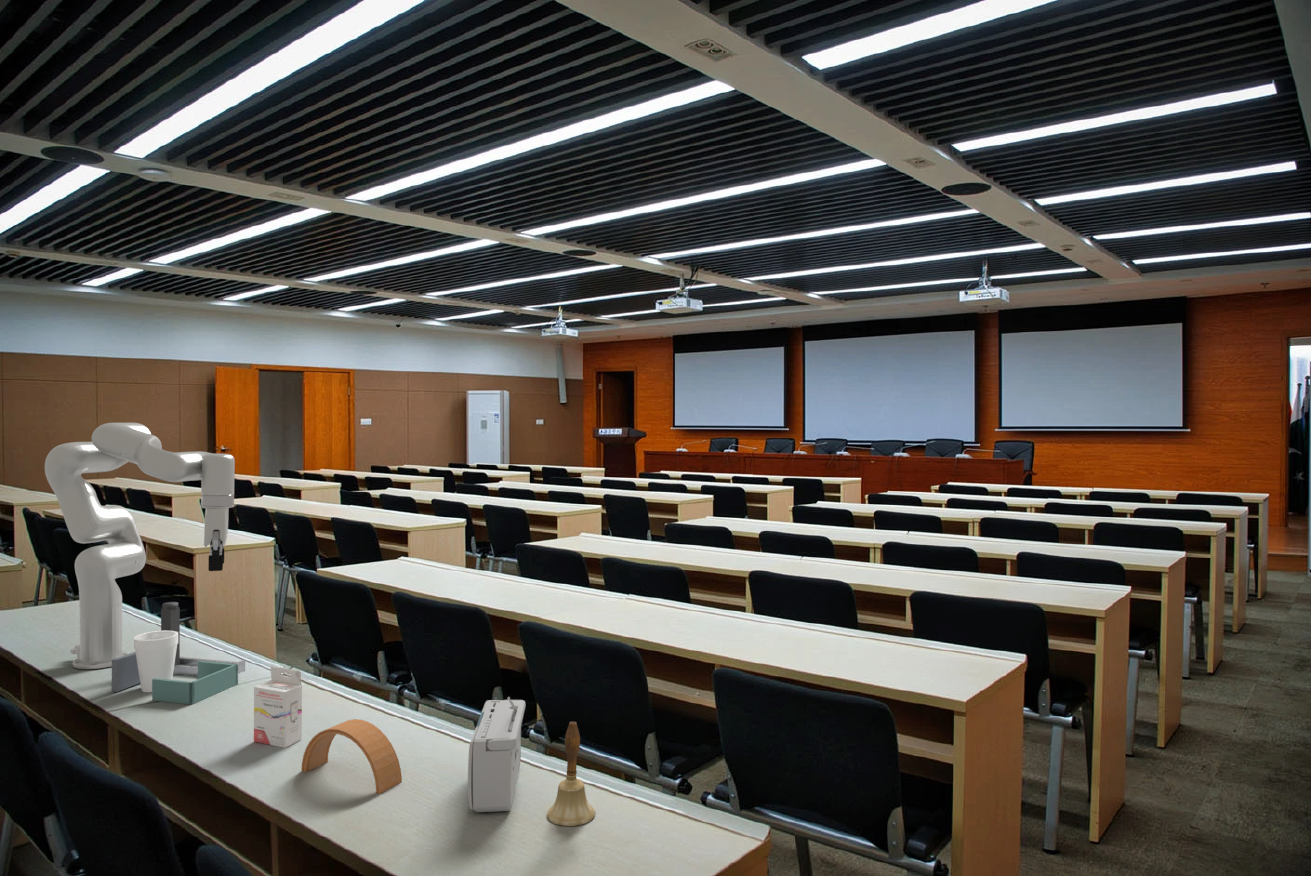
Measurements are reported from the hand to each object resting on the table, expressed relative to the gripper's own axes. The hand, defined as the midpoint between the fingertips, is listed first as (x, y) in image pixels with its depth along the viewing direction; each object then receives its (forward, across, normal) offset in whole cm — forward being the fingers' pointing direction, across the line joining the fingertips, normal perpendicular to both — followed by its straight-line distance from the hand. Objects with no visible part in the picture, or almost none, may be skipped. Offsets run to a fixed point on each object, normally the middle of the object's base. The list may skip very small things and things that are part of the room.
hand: (216, 567), depth 214 cm
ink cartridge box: (+27, +55, +14) cm, 63 cm away
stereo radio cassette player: (+26, +94, +50) cm, 110 cm away
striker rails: (+28, -6, -6) cm, 29 cm away
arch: (+27, +78, +26) cm, 87 cm away
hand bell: (+26, +109, +59) cm, 127 cm away
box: (+28, +14, -3) cm, 31 cm away
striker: (+28, -2, -16) cm, 32 cm away
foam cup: (+28, +7, -12) cm, 32 cm away
